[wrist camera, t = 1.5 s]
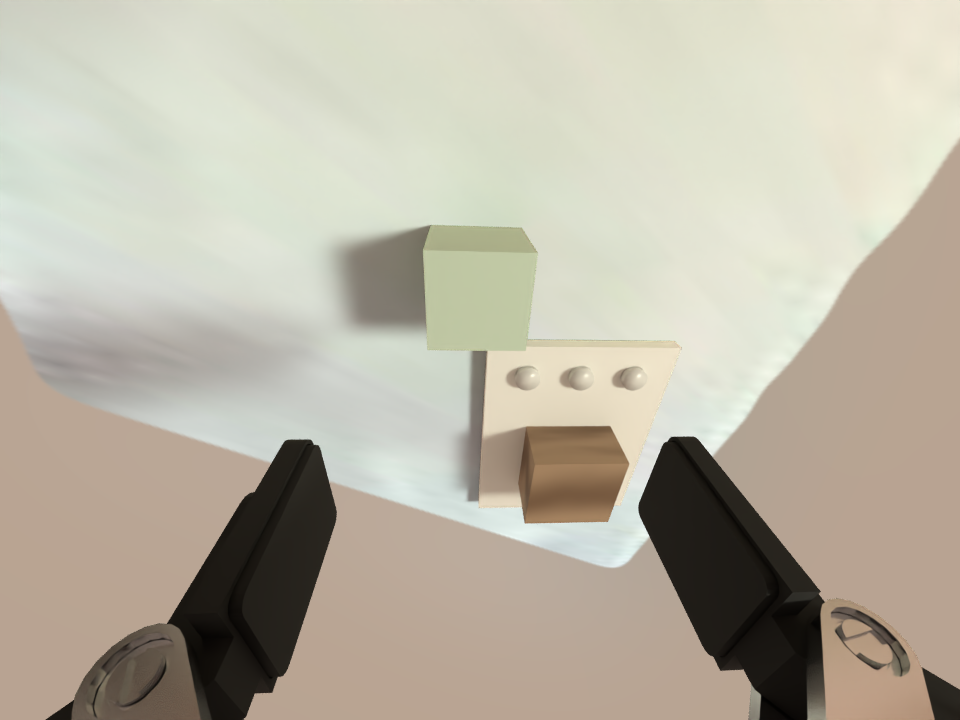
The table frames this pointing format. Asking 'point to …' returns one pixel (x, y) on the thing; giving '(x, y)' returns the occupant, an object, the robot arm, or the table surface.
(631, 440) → the snap baseplate
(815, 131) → the table surface
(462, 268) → the sage block
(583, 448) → the walnut block
